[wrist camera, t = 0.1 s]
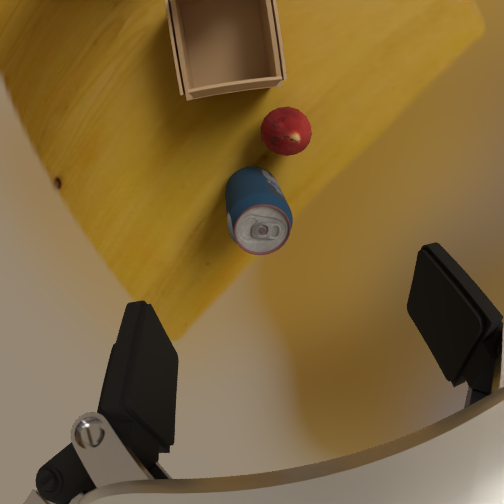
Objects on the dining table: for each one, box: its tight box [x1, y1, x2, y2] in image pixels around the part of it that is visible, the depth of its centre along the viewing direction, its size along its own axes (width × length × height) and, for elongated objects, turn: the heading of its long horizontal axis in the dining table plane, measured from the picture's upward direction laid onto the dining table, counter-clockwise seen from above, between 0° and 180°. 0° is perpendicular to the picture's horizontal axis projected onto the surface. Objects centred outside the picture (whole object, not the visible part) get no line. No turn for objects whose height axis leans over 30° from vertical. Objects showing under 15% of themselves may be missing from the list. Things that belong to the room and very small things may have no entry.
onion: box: [261, 107, 312, 156], centre depth 32 cm, size 6×6×8 cm
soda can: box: [225, 167, 293, 255], centre depth 35 cm, size 7×7×12 cm
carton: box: [165, 0, 287, 101], centre depth 27 cm, size 13×11×6 cm
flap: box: [188, 76, 282, 98], centre depth 25 cm, size 4×8×1 cm
